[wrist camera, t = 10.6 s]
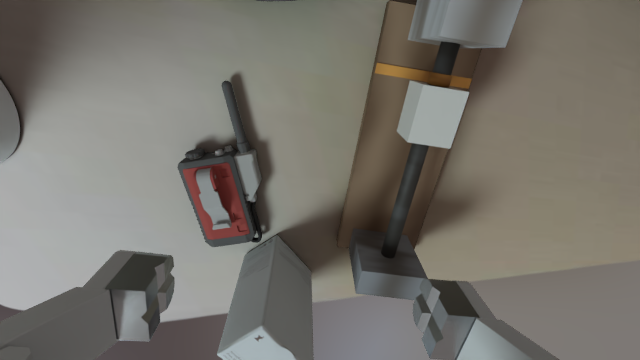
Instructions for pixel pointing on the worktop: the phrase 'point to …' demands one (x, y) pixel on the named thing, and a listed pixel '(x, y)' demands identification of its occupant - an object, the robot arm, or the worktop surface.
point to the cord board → (393, 150)
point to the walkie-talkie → (224, 186)
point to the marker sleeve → (431, 114)
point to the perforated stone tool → (276, 0)
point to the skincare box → (270, 307)
